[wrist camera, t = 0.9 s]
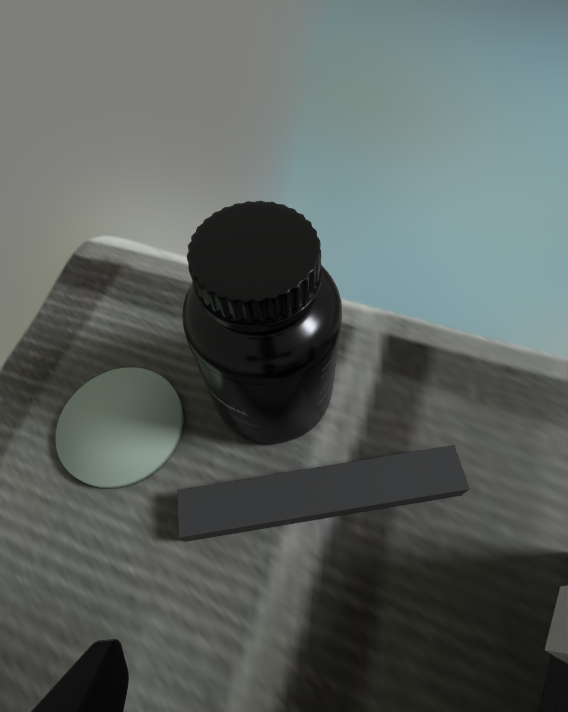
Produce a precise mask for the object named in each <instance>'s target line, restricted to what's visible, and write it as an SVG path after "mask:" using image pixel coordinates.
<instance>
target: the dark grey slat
mask: <svg viewBox="0 0 568 712" xmlns="http://www.w3.org/2000/svg"><path fill="white" fill-rule="evenodd" d="M468 490H469V486H468V483H467V480H466V477H465V474H464V471H463V469H462V466H461V463H460V460H459V457H458V454H457V451H456V449H455V446H454V445H452V446H446V447H440V448H434V449H427V450H421V451H415V452H409V453H403V454H397V455H391V456H385V457H378V458H372V459H366V460H360V461H354V462H348V463H342V464H336V465H330V466H323V467H317V468H311V469H305V470H299V471H293V472H287V473H281V474H275V475H268V476H262V477H256V478H250V479H244V480H238V481H232V482H226V483H219V484H213V485H207V486H201V487H195V488H189V489H183V490H177V494H178V525H179V538H181V539H183V540H184V541H192V540H198V539H204V538H210V537H216V536H222V535H228V534H234V533H240V532H246V531H252V530H258V529H264V528H270V527H276V526H282V525H288V524H293V523H299V522H305V521H311V520H317V519H323V518H329V517H335V516H341V515H347V514H353V513H359V512H365V511H371V510H377V509H383V508H389V507H395V506H401V505H407V504H413V503H419V502H425V501H431V500H437V499H443V498H449V497H455V496H461V495H462V494H464V493H465V492H466V491H468Z"/></svg>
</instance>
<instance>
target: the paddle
mask: <svg viewBox="0 0 568 712" xmlns="http://www.w3.org/2000/svg"><path fill="white" fill-rule="evenodd" d="M545 651H547V652H548V653H550V654H552V655H554V656H555V657H557V658H559V659H561V660H562V661H564V662H566V663H568V586H560V590H559V594H558V598H557V602H556V606H555V610H554V614H553V618H552V622H551V626H550V630H549V634H548V638H547V642H546V647H545Z"/></svg>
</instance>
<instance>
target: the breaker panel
mask: <svg viewBox="0 0 568 712" xmlns="http://www.w3.org/2000/svg"><path fill="white" fill-rule="evenodd" d="M539 712H568V663H566V662H564V661H562V660H561V659H559V658H557V657H555V656H554V655H552V658H551V662H550V666H549V670H548V675H547V679H546V683H545V687H544V691H543V696H542V700H541V704H540V708H539Z"/></svg>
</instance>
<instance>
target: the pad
mask: <svg viewBox="0 0 568 712" xmlns="http://www.w3.org/2000/svg"><path fill="white" fill-rule="evenodd" d="M183 426H184V413H183V407H182V403H181V401H180V398H179V396H178V395H177V393H176V391H175V390H174V388H173V387H172V385H171V384H170V383H169V382H168V381H167V380H166V379H165V378H163V377H162V376H160V375H159V374H157V373H155V372H153V371H150V370H147V369H143V368H136V367H127V368H119V369H114V370H111V371H108V372H105V373H103V374H100V375H98V376H96V377H95V378H93V379H91V380H90V381H88V382H87V383H85V384H84V385H83V386H82V387H81V388H80V389H78V390H77V391H76V393H75V394H74V395H73V396H72V397H71V398H70V400H69V401H68V402H67V404H66V406H65V407H64V409H63V411H62V413H61V415H60V418H59V421H58V424H57V429H56V439H55V440H56V449H57V453H58V456H59V458H60V461H61V462H62V464H63V465H64V467H65V468H66V469H67V470H68V472H69V473H70V474H72V475H73V476H74V477H76V478H77V479H79V480H81V481H82V482H84V483H86V484H88V485H91V486H94V487H98V488H103V489H116V488H123V487H128V486H131V485H134V484H137V483H139V482H141V481H143V480H145V479H147V478H148V477H150V476H151V475H153V474H154V473H155V472H157V471H158V470H159V469H160V468H161V467H162V466H163V465H164V464H165V463H166V462H167V461H168V460H169V458H170V457H171V456H172V454H173V453H174V451H175V449H176V448H177V445H178V443H179V441H180V438H181V435H182V431H183Z"/></svg>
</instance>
